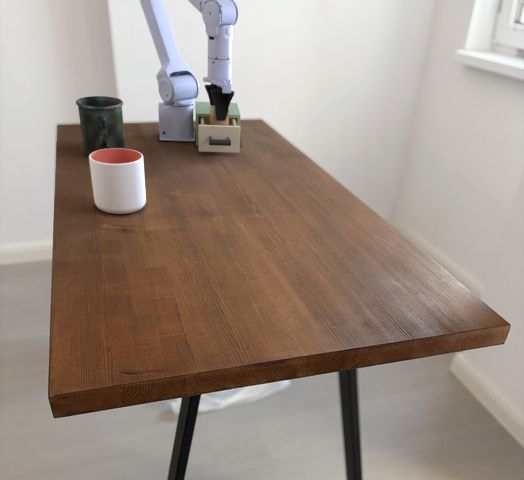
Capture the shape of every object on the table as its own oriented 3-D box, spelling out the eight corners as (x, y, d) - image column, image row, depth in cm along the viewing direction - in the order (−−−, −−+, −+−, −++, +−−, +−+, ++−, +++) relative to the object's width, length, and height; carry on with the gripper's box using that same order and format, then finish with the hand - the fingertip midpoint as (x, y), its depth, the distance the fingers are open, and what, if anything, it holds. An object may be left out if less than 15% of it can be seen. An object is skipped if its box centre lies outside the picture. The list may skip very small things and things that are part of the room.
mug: (126, 146, 142) (121, 96, 135) (130, 164, 131) (125, 110, 123) (82, 146, 139) (75, 95, 132) (82, 165, 128) (75, 110, 121)
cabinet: (239, 146, 147) (240, 115, 142) (196, 145, 146) (195, 113, 141) (236, 133, 158) (237, 103, 153) (195, 131, 157) (195, 101, 152)
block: (213, 126, 137) (213, 109, 135) (209, 122, 140) (209, 105, 138) (228, 125, 138) (229, 108, 136) (224, 121, 141) (224, 105, 139)
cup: (105, 219, 104) (99, 167, 98) (88, 201, 110) (81, 151, 105) (154, 211, 109) (151, 160, 103) (134, 194, 115) (130, 145, 109)
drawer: (240, 158, 136) (241, 132, 133) (198, 157, 135) (198, 130, 131) (236, 139, 150) (237, 114, 146) (198, 137, 149) (197, 113, 145)
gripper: (196, 52, 135) (196, 111, 143) (210, 63, 124) (210, 126, 132) (224, 53, 137) (223, 110, 145) (240, 63, 126) (238, 125, 134)
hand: (218, 118), depth 138 cm, fingers closed on block, 4 cm apart
